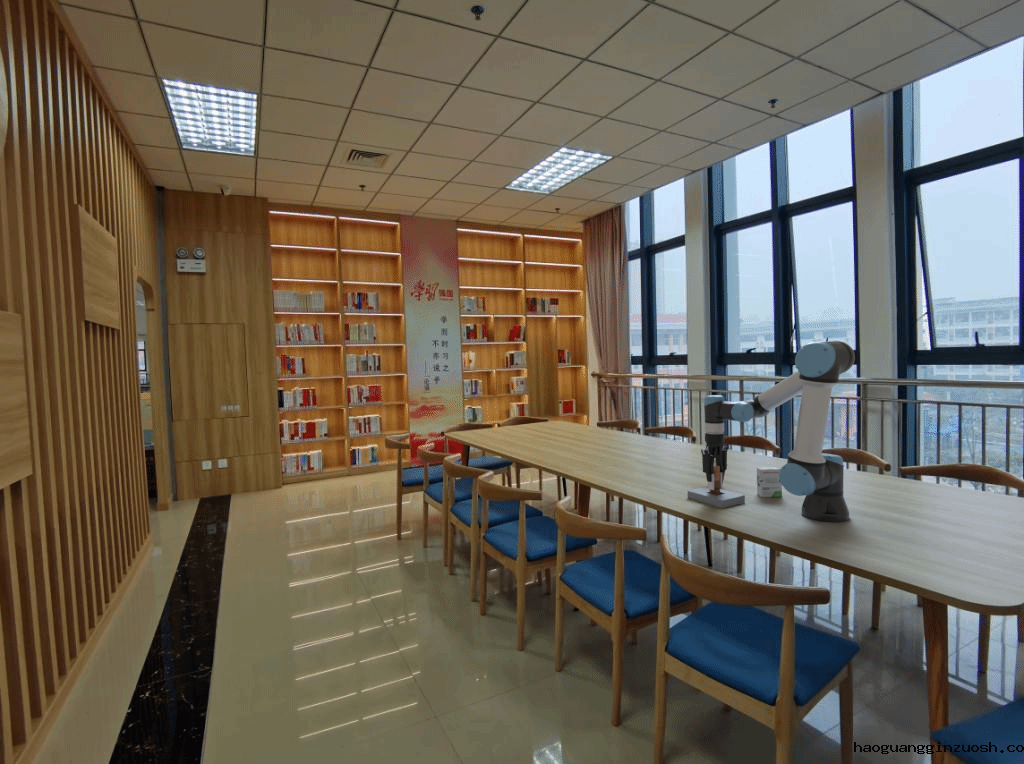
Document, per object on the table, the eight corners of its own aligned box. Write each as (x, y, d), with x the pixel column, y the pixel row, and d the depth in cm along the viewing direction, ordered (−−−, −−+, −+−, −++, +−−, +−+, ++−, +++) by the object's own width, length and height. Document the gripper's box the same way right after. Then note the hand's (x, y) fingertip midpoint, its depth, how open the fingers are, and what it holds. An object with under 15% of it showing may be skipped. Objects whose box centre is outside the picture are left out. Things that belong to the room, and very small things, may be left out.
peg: (722, 494, 216) (722, 466, 216) (715, 496, 214) (715, 467, 214) (714, 492, 220) (714, 464, 219) (707, 494, 218) (707, 465, 217)
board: (744, 502, 212) (744, 495, 212) (722, 508, 206) (722, 500, 206) (709, 492, 228) (709, 486, 228) (687, 497, 222) (687, 490, 222)
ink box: (777, 493, 222) (777, 466, 222) (782, 497, 218) (782, 469, 217) (756, 494, 224) (756, 466, 223) (760, 497, 219) (760, 469, 218)
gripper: (721, 429, 223) (722, 483, 224) (692, 433, 215) (693, 489, 216) (736, 431, 216) (736, 487, 218) (706, 436, 208) (707, 493, 210)
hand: (715, 488), depth 217 cm, fingers closed on peg, 4 cm apart
